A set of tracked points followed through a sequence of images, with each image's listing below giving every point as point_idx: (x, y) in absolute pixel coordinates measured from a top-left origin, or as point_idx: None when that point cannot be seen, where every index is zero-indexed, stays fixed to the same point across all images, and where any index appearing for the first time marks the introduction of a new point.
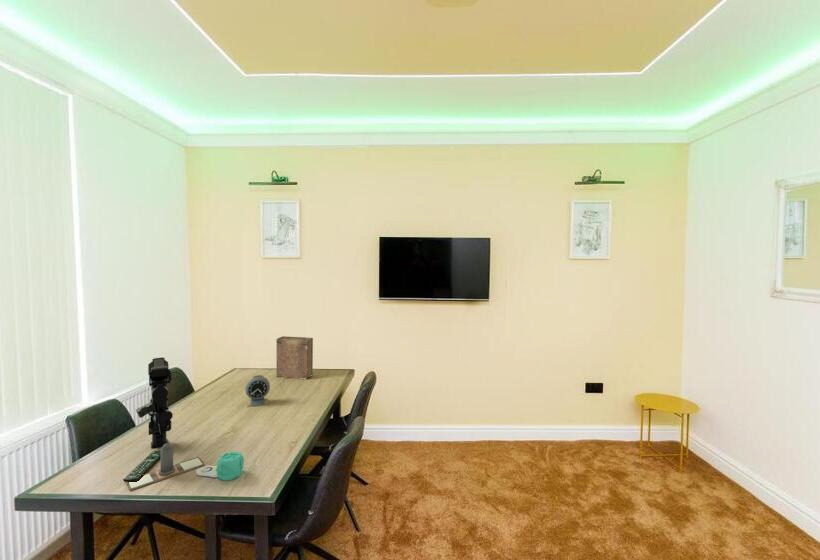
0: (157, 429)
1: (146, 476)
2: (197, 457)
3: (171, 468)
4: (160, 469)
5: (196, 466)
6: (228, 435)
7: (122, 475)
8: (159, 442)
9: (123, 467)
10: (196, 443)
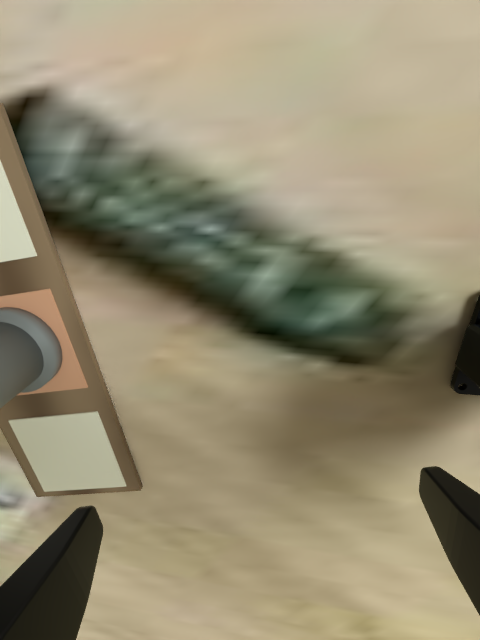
0: (422, 475)
1: (2, 240)
2: (134, 486)
3: None
4: (25, 323)
5: (32, 466)
6: (327, 619)
7: (111, 76)
8: (476, 359)
9: (258, 77)
10: (338, 509)
